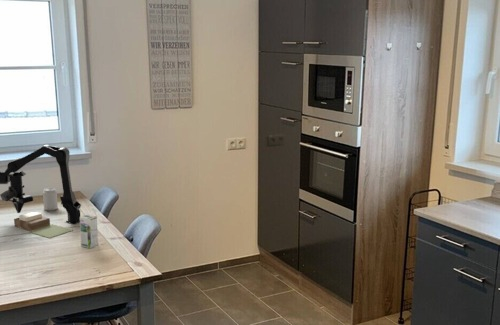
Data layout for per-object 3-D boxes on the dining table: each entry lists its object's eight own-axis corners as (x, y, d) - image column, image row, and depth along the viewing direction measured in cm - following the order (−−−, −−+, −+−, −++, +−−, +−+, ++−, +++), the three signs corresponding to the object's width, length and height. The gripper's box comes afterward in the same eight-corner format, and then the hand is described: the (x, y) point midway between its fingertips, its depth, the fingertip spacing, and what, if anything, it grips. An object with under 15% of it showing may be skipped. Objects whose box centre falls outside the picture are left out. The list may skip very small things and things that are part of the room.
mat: (72, 230, 272) (72, 229, 271) (49, 238, 260) (49, 237, 260) (52, 224, 280) (52, 224, 280) (28, 232, 268) (28, 231, 268)
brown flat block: (50, 225, 279) (49, 218, 278) (31, 231, 270) (30, 223, 269) (33, 221, 286) (32, 213, 285) (14, 226, 277) (14, 219, 276)
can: (60, 207, 311) (58, 187, 309) (54, 211, 304) (52, 190, 302) (47, 207, 312) (46, 187, 310) (41, 210, 305) (40, 190, 302)
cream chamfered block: (41, 217, 280) (41, 213, 279) (26, 221, 272) (26, 217, 272) (34, 215, 283) (34, 211, 283) (19, 219, 276) (19, 215, 275)
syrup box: (80, 246, 249) (78, 216, 246) (89, 242, 254) (88, 213, 252) (89, 248, 247) (88, 218, 244) (98, 244, 252) (97, 215, 249)
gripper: (-9, 184, 278) (-6, 213, 281) (13, 189, 268) (15, 219, 271) (10, 180, 287) (13, 208, 290) (32, 185, 277) (34, 214, 280)
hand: (18, 212), depth 283 cm, fingers closed
